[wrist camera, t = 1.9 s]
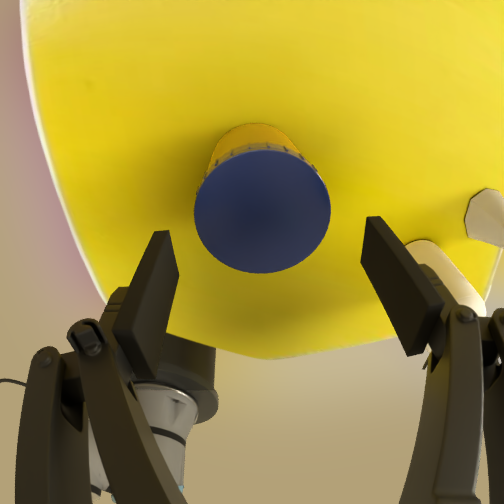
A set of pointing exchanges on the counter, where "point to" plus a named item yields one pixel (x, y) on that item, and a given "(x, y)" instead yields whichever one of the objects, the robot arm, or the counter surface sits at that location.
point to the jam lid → (261, 208)
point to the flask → (486, 218)
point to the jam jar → (250, 139)
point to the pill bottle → (447, 275)
